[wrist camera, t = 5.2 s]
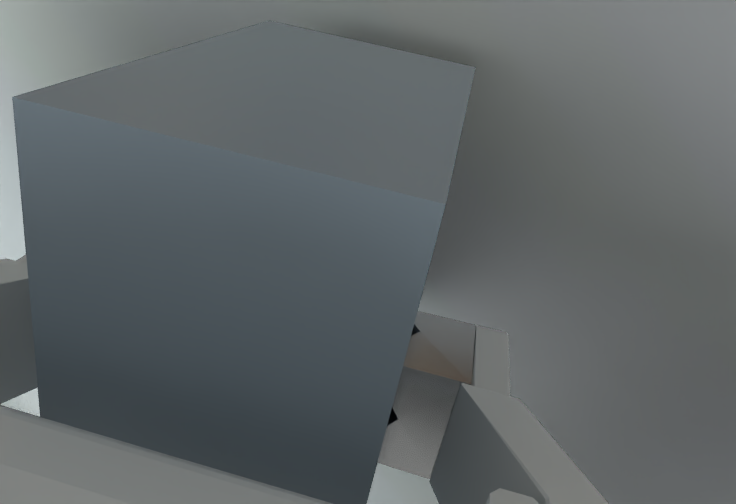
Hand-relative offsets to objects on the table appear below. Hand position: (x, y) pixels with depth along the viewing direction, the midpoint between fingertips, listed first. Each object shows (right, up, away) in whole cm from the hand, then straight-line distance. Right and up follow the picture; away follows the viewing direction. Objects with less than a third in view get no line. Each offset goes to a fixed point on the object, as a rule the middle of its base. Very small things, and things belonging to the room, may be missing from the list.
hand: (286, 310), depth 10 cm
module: (+1, +2, +3) cm, 4 cm away
